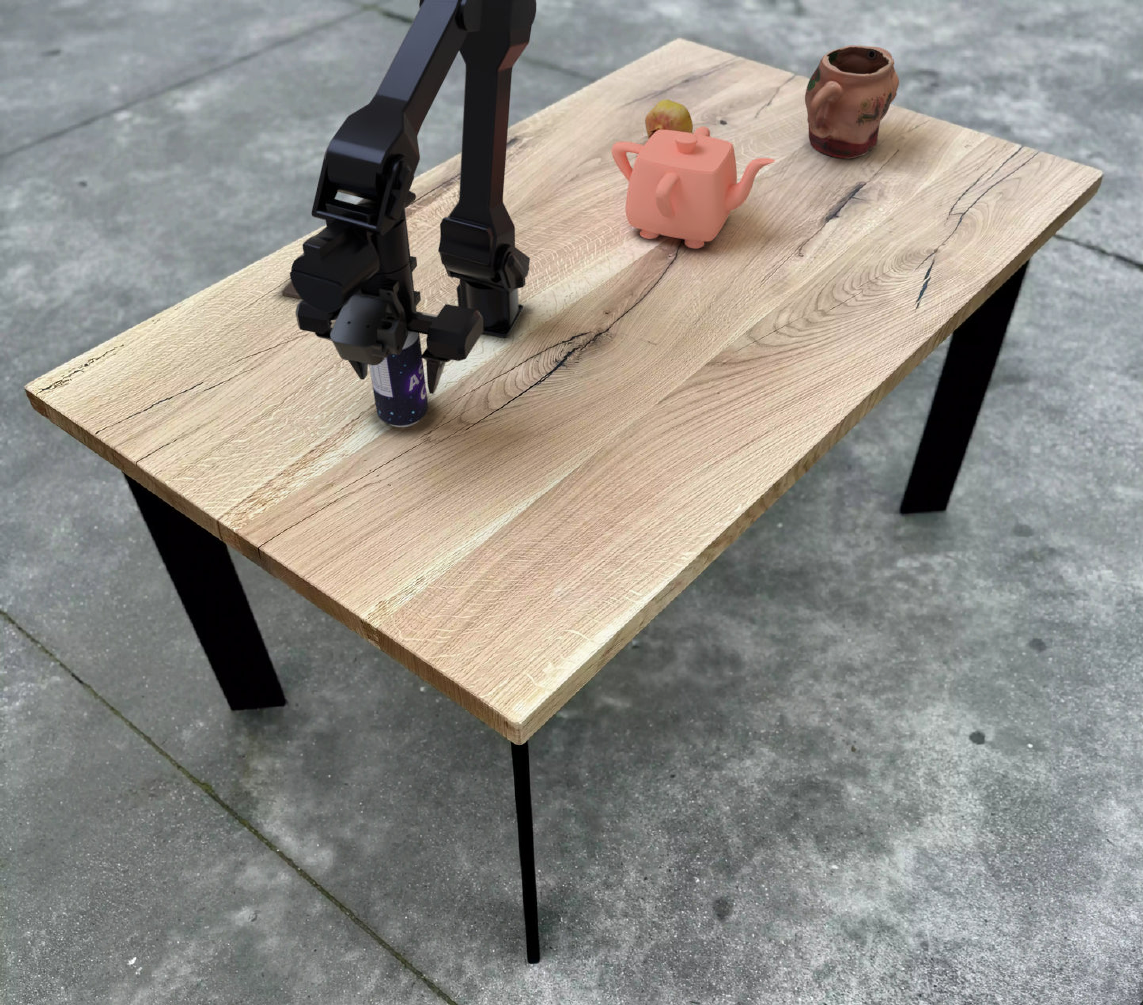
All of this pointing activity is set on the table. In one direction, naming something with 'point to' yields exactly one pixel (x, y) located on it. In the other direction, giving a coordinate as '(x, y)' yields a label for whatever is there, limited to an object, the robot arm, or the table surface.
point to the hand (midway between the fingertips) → (398, 384)
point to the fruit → (668, 118)
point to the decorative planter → (849, 99)
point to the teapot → (683, 184)
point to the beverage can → (401, 385)
